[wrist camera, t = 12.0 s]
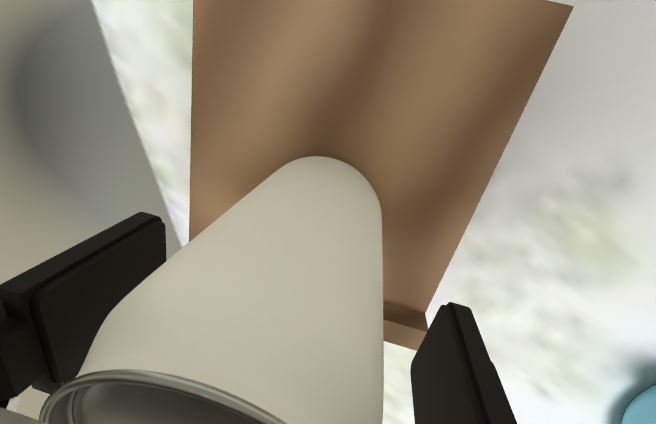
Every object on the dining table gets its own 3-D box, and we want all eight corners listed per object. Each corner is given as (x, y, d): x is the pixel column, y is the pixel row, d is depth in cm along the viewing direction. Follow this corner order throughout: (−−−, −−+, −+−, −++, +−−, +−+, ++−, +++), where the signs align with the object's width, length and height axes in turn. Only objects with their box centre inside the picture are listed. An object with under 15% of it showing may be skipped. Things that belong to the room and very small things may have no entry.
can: (399, 244, 16) (443, 597, 5) (297, 276, 18) (165, 577, 7) (352, 132, 14) (250, 302, 3) (242, 181, 16) (-61, 393, 5)
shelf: (508, 33, 16) (601, -6, 9) (407, 274, 23) (419, 351, 17) (253, -26, 17) (170, -99, 10) (231, 224, 24) (173, 279, 17)
